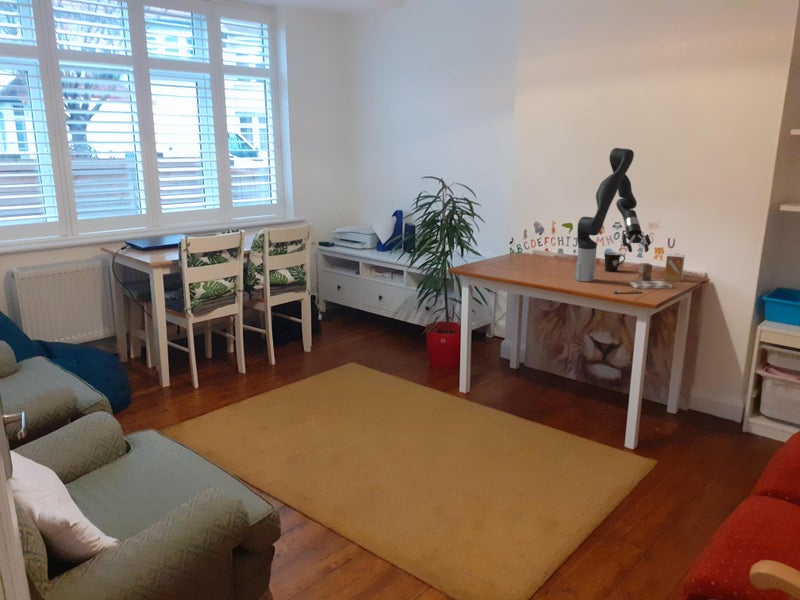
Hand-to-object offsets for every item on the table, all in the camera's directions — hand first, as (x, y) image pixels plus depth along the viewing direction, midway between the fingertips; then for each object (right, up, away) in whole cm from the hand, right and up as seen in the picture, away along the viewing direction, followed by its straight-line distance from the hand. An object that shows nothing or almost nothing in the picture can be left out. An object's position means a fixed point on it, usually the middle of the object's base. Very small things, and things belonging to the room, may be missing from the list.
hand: (639, 251), depth 332 cm
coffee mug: (-7, -10, +18) cm, 22 cm away
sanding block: (0, -16, -7) cm, 17 cm away
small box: (+16, -15, -5) cm, 23 cm away
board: (-2, -19, -18) cm, 26 cm away
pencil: (-17, -23, -33) cm, 43 cm away
